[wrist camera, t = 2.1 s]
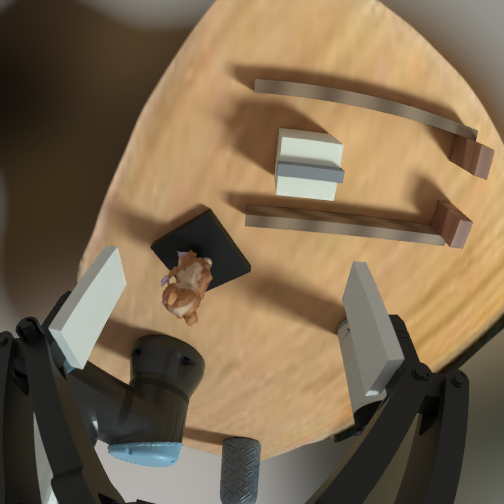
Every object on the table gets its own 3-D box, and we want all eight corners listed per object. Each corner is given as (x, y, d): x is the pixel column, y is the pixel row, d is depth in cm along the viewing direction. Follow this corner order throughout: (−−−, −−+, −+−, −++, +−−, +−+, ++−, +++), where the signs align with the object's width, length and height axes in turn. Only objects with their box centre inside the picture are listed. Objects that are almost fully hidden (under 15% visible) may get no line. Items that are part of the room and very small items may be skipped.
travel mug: (337, 315, 46) (360, 425, 30) (374, 313, 46) (407, 416, 29) (332, 339, 50) (349, 441, 33) (366, 337, 49) (391, 434, 33)
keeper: (272, 176, 34) (274, 199, 28) (277, 127, 31) (280, 138, 25) (325, 182, 34) (338, 205, 28) (332, 134, 31) (348, 147, 25)
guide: (246, 215, 37) (243, 238, 32) (256, 79, 28) (254, 78, 23) (440, 236, 38) (458, 258, 32) (470, 128, 28) (496, 138, 23)
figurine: (153, 241, 40) (121, 297, 30) (210, 208, 37) (190, 261, 27) (194, 290, 45) (177, 351, 35) (250, 265, 42) (246, 327, 32)
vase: (259, 437, 76) (256, 520, 52) (261, 448, 82) (259, 522, 59) (220, 435, 77) (211, 517, 53) (226, 447, 83) (219, 520, 60)
